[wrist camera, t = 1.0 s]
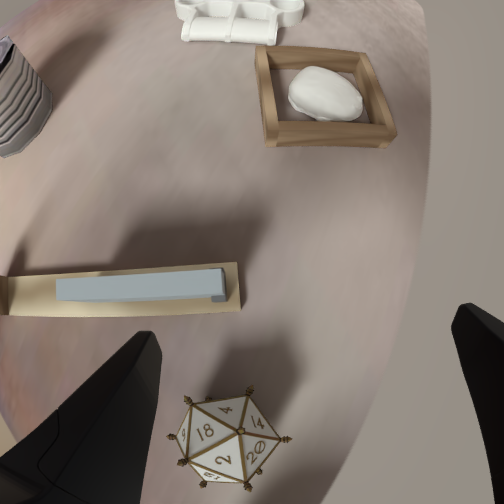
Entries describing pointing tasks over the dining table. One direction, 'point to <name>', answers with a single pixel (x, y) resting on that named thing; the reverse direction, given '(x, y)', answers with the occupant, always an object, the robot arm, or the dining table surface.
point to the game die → (226, 439)
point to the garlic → (325, 95)
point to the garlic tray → (323, 131)
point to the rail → (45, 304)
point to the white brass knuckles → (237, 19)
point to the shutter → (145, 287)
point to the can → (20, 100)
